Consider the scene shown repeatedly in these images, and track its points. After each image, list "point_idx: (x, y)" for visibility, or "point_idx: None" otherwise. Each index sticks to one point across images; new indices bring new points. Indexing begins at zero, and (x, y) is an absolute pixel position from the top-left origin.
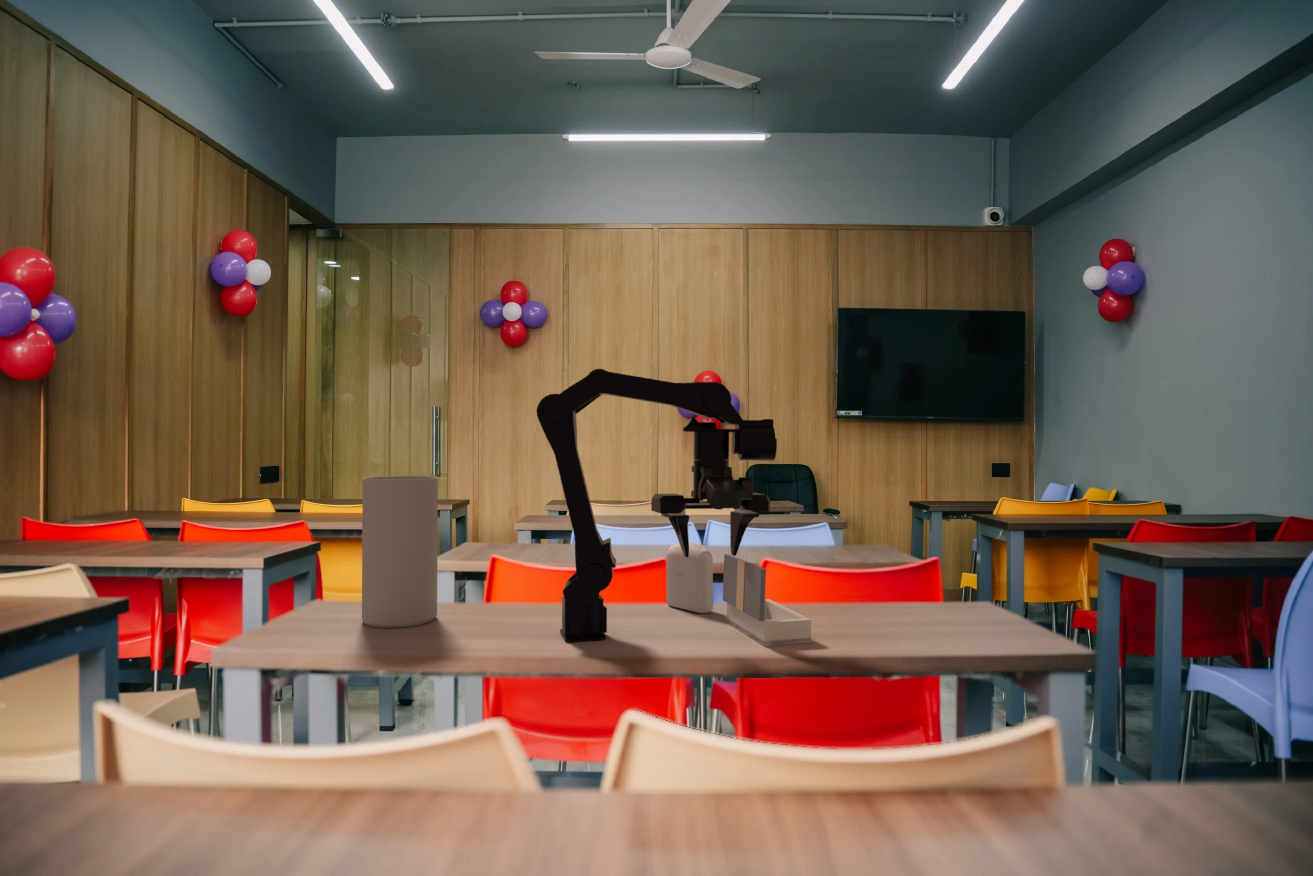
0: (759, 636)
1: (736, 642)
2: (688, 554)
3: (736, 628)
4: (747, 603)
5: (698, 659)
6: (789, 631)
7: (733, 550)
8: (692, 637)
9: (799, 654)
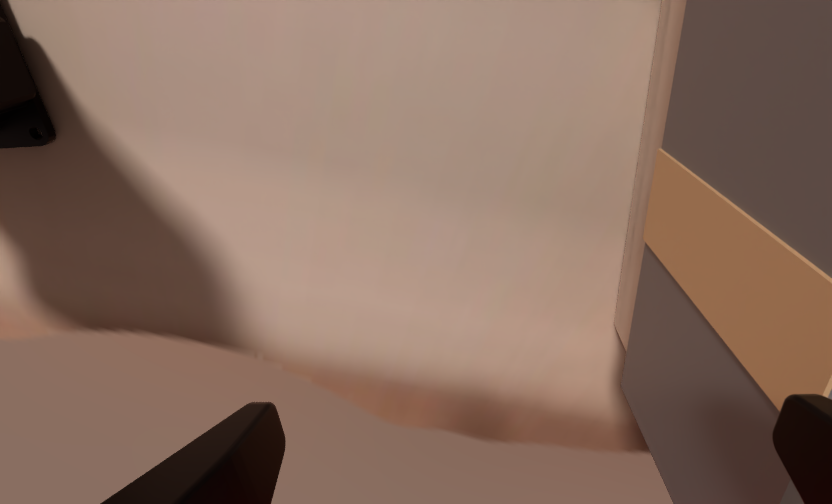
0: (626, 305)
1: (545, 261)
2: (277, 470)
3: (653, 57)
4: (658, 310)
5: (365, 387)
6: None
7: (803, 483)
8: (404, 164)
9: None
